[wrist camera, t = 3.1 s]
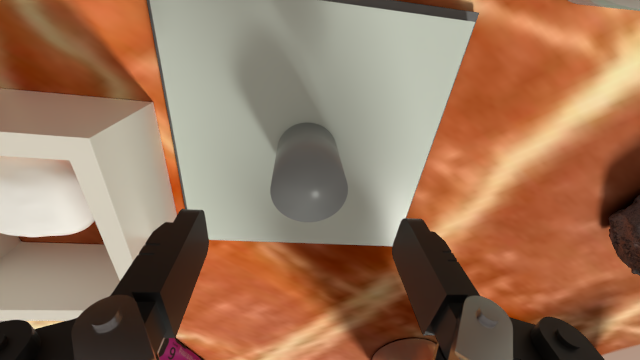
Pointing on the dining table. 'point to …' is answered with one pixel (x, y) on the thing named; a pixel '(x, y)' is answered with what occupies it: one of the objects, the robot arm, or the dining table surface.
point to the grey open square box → (99, 190)
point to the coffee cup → (611, 3)
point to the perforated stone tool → (627, 235)
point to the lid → (304, 113)
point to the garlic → (41, 198)
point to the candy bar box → (175, 351)
